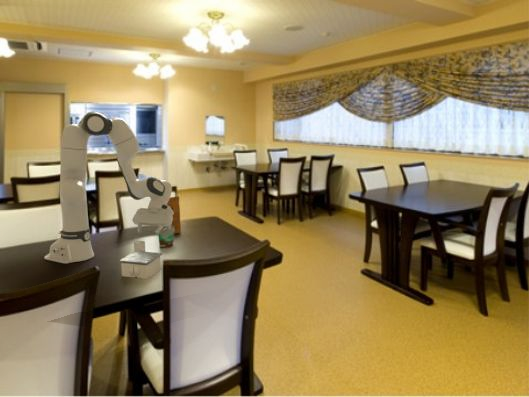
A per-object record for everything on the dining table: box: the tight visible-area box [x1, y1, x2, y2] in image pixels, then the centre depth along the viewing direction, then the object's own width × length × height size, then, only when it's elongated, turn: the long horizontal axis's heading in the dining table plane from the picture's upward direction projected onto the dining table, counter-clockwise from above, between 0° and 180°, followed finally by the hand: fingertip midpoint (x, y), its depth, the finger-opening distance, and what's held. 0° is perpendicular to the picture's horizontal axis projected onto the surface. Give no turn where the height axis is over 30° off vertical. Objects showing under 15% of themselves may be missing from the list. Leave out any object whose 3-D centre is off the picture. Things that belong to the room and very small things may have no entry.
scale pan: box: [119, 251, 163, 265], centre depth 171 cm, size 13×13×1 cm
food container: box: [157, 225, 175, 249], centre depth 209 cm, size 12×6×10 cm, turn 168°
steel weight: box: [133, 240, 146, 252], centre depth 187 cm, size 5×5×9 cm
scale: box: [120, 256, 162, 280], centre depth 172 cm, size 12×12×6 cm
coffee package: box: [161, 195, 182, 235], centre depth 234 cm, size 10×12×22 cm
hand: (147, 232), depth 194 cm, fingers open, 8 cm apart
